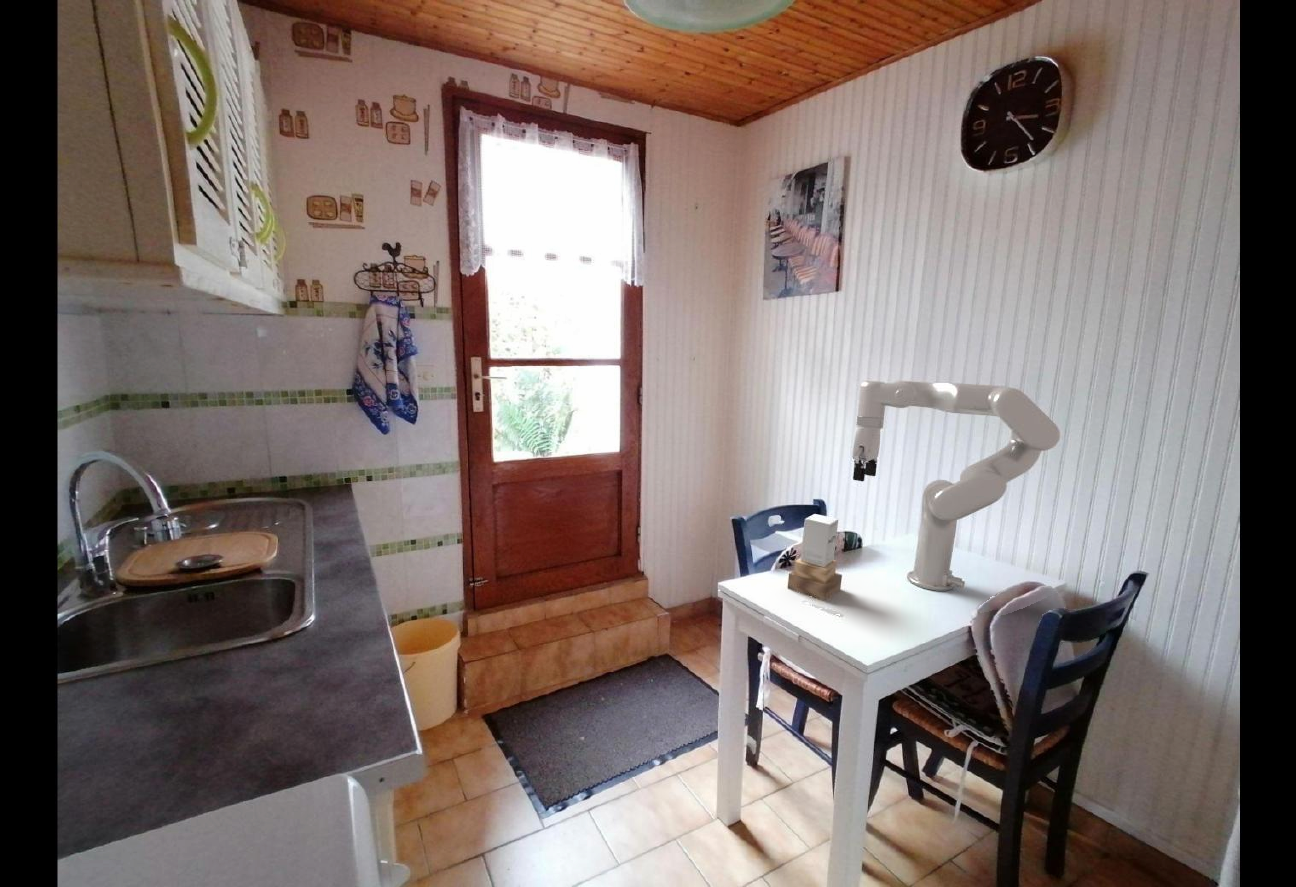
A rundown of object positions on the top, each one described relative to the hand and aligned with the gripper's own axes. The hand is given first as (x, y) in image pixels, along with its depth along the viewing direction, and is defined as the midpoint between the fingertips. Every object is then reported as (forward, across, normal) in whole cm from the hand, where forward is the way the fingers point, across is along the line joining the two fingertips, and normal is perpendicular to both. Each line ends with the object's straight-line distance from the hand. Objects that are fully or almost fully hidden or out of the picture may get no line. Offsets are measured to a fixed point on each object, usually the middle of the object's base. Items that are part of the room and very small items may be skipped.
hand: (864, 478), depth 171 cm
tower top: (+25, +23, -4) cm, 34 cm away
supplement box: (+22, +23, -3) cm, 31 cm away
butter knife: (+30, +33, -3) cm, 45 cm away
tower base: (+30, +23, -3) cm, 38 cm away
